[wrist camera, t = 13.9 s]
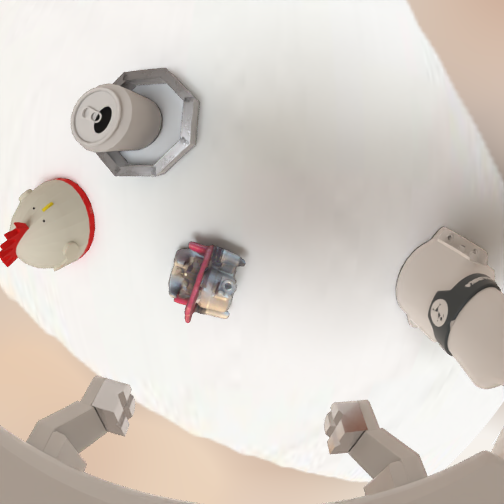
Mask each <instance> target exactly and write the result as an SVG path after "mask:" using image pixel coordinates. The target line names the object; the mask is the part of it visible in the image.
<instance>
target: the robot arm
mask: <svg viewBox="0 0 504 504" xmlns="http://www.w3.org/2000/svg"><path fill="white" fill-rule="evenodd" d="M448 236H449V238H448ZM487 262H488V254H487V252H486V251H485V250H484V249H482V248H481V247H479V246H478V245H476V244H474V243H473V242H471V241H469V240H467V239H466V238H464V237H462V236H461V235H459V234H457V233H455V232H454V231H452V230H450V229H448V228H446V227H442V228H441V229H440V230H439V231H438V232H437V233H436V234H435V236H434V237H433V238H432V239H431V240H430V241H428V242H426V243H425V244H423V245H422V246H420V247H419V248H418V249H416V250H415V251H414V252H413V253H412V254H411V256H410V257H409V258H408V260H407V261H406V262H405V264H404V266H403V268H402V270H401V272H400V275H399V277H398V281H397V287H396V297H397V301H398V304H399V306H400V308H401V309H402V310H403V311H404V312H405V313H406V314H407V318H408V323H409V325H411V326H412V327H413V328H416V327H419V328H420V329H421V330H422V332H423V333H425V334H426V335H427V336H428V337H429V338H430V339H431V340H432V341H433V342H438V343H439V345H440V346H441V348H442V349H443V350H445V351H446V352H447V353H448V354H449V355H451V356H453V357H454V358H455V359H456V360H457V362H458V363H459V364H460V366H461V367H462V368H463V370H464V371H465V372H466V374H467V375H468V377H469V378H470V379H471V381H472V382H473V383H474V385H475V386H477V387H479V388H481V389H491V388H495V387H498V386H500V385H502V386H504V294H503V293H502V292H501V290H500V288H499V287H498V286H497V284H496V282H495V272H494V270H493V269H492V268H491V267H489V266H488V265H487ZM131 390H132V389H131V387H130V385H129V384H125V383H121V382H118V381H114V380H111V379H108V378H104V377H101V376H95V377H94V378H93V380H92V382H91V383H90V385H89V387H88V389H87V390H86V392H85V394H84V396H83V397H82V399H81V401H80V402H79V401H76V402H74V403H72V404H71V405H69V406H67V407H65V408H63V409H61V410H59V411H57V412H55V413H53V414H51V415H49V416H47V417H45V418H43V419H41V420H39V421H38V422H37V423H36V425H35V427H34V429H33V430H32V432H31V434H30V436H29V438H28V439H27V441H26V442H25V441H23V440H22V439H20V438H18V437H17V436H15V435H14V434H12V433H11V432H9V431H8V430H6V429H5V428H4V427H2V426H1V425H0V504H202V503H194V502H188V501H182V500H176V499H171V498H166V497H161V496H157V495H153V494H149V493H145V492H141V491H137V490H134V489H131V488H127V487H124V486H121V485H118V484H114V483H112V482H109V481H106V480H103V479H101V478H98V477H95V476H93V475H90V474H88V473H85V472H84V471H85V468H86V465H87V464H86V462H85V460H84V459H83V458H82V457H81V456H80V455H79V453H80V452H82V451H83V450H84V449H86V448H87V447H88V446H90V445H91V444H92V443H94V442H95V441H96V440H98V439H99V438H100V437H102V436H103V435H104V434H105V433H107V432H111V433H115V434H118V435H122V436H125V435H126V432H127V429H128V427H129V422H128V419H129V418H131V417H132V416H133V413H134V409H135V400H134V397H133V396H132V395H131V394H130V393H131ZM330 408H331V412H329V413H328V414H327V416H326V418H325V422H324V429H325V434H326V435H328V436H329V437H330V438H329V440H328V441H327V443H328V448H329V453H330V454H339V453H348V452H349V453H348V454H349V455H350V456H351V457H352V458H353V459H354V460H355V461H356V462H357V463H358V464H359V465H360V466H361V467H362V468H363V469H364V470H365V471H366V472H367V473H368V474H369V475H370V476H371V477H372V478H373V480H371V481H370V482H369V483H368V484H367V485H366V486H365V487H364V491H365V496H362V497H358V498H353V499H348V500H342V501H336V502H330V503H323V504H504V427H503V429H502V430H501V432H500V434H499V437H498V439H497V441H496V443H495V445H494V447H493V449H492V451H491V452H489V451H481V452H479V453H477V454H475V455H473V456H471V457H470V458H468V459H466V460H464V461H462V462H460V463H458V464H456V465H454V466H452V467H449V468H447V469H445V470H442V471H440V472H438V473H435V474H433V475H430V476H427V473H426V471H425V468H424V466H423V463H422V461H421V458H420V456H419V454H418V453H416V452H415V451H413V450H412V449H411V448H409V447H408V446H406V445H405V444H404V443H402V442H401V441H400V440H398V439H397V438H395V437H394V436H393V435H391V434H390V433H389V432H387V431H386V430H385V429H383V428H379V425H378V422H377V420H376V417H375V415H374V412H373V410H372V407H371V405H370V402H369V401H368V400H360V401H346V402H334V403H333V404H332V405H331V407H330Z"/></svg>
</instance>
